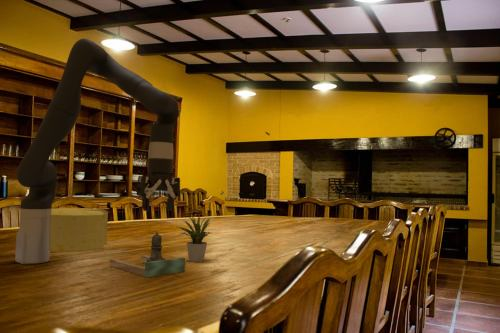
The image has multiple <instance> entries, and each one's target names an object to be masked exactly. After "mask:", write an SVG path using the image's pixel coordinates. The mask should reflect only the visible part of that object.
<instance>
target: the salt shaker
mask: <svg viewBox="0 0 500 333" xmlns="http://www.w3.org/2000/svg"><path fill="white" fill-rule="evenodd" d="M162 249H163V246H162V236H161V235H160V234H159V232H158V231H156V232H155V234H154V235H153V236H152V237H151V245H150V255H149V256H150V257H149V258H148V259H146V261H147V262H151V261H159V260H166V258H165V257H163V256H162Z"/></svg>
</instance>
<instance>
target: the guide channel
mask: <svg viewBox="0 0 500 333" xmlns="http://www.w3.org/2000/svg"><path fill="white" fill-rule="evenodd" d="M150 256H151V255H145V254H144V255H141V257H140V258H141V260H140V262H141V263H144V266H141V265H138V264H134V263H131V262H127V261H123V260H120V259H115V258H110V259H109V267H112V268H116V269H119V270H123V271H126V272H129V273H131V274H135V275H139V276H141V277H142V276H143V277H146V278H151V277H159V276H164V275H171V274H177V273H183V272H185V271H186V270H185V269H186V258H185V257H176V258H175V257H174V258H167V259H166V258H165V259H166V260H159V261H151V262H147V261H146V259H148V258H149V257H150Z"/></svg>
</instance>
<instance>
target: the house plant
mask: <svg viewBox="0 0 500 333" xmlns="http://www.w3.org/2000/svg"><path fill="white" fill-rule="evenodd" d="M188 218H189V219H190V221H191V223H192V224H190V223H189V222H188V221H187V220H184V219H179V220H181V222H183V223H185V224H186V225H187V226H188V227H189V229H188V228H187V227H182V226H176V228H177V229H180V230H178V231H179V232H181V231H183V232H181V233H179V236H181V235H186V236H188V237H189V238H190V240H191V241H187V242H186V248H187V255H188V256H187V258H188V262H192V263H202V262H204V261H205V256H206V251H207V246H208V242H206V241H203V240H204V239H205V237H207V236H208V235H210V234H211V232H210V231H206V230H207V228H208V227H209V226H210V224H211V222H210V221H211V219H212V217H204V218H203V220H202V221H201V216H200V214H198V219H197V220H196V219H195V218H194V217H192V216H188ZM200 221H201V223H200ZM192 225H193V227H192Z"/></svg>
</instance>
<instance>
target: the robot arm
mask: <svg viewBox="0 0 500 333" xmlns="http://www.w3.org/2000/svg"><path fill="white" fill-rule="evenodd" d="M65 63H66V64H65V66H64V70H63V72H62V75H61V78H60V81H59V83H58V86H57V87H56V90H55V92H54V94H53V96H52V99H51V101H50V102H49V105H48V108H47V110H46V112H45V114H44V117H43V119H42V122H41V124H40V126H39V128H38V130H37V132H36V134H35V136H34V139H33V140H32V143H31V144H30V146H29V148H28V149H27V151H26V152H25V154H24V156H23V157H22V160H21V161H20V162H19V165H18V167H17V171H16V179H17V181H18V183H19V184H20V185H21V186H23V187H24V188H29V190H28V194H27V195H26V196H25V197H23V198H22V199H21V201H20V209H19V224H18V225H19V226H18V228H19V229H18V231H16V238H15V254H14V255H15V256H14V259H15V260H14V261H15V262H16V263H18V264H22V265H26V264H27V265H28V264H40V263H41V264H42V263H47V262H49V261H50V254H51V253H50V252H51V251H50V233H51V213H52V209H53V203H54V201H55V199H56V192H57V191H56V190H57V181H58V180H57V179H58V174H57V173H58V172H57V169H56V166H55V164H54V163H53V162H51V161H49V160H50V159H51V158H50V157H51V156H52V154H53V152H54V150H55V149H56V148H57V146H58V145H60V143H61V142H63V141H64V139H66V137H67V136H68V135H69V134H70V133H71V131H72V130H73V129H74V127H75V125H76V123H77V120H78V118H79V117H80V113H81V109H82V96H81V93H82V84H83V80H84V78H85V76H86V74H87V72H89V73H92V74H96V75H98V76H100V77H103V78H104V79H107V80H108V81H111V83H113V84H115V86H117V87H118V88H119V89H120V90H121V91H122V92H124V93H125V94H126V95H128V97H129V96H130V97H131V98H132V99H134V100H135V101H137V102H139V103H140V104H141V105H142V106H143V107H145V109H146V110H148V111H150V112H151V113H153V114H155V115H156V116H157V119H156V123H154V124H152V125H151V127H150V133H149V146H148V153H147V154H148V155H147V157H148V158H147V176H146V175H138V177H137V184H136V193H135V194H136V196H139V197H141V198H142V200H141V208H142V211H144V212H150V204H151V203H150V200H151V199H150V197H151V196H152V194H153V193H154V192H156V191H157V192H159V191H160V192H161V191H162V192H164V193H165V194H166V197H167V198H166V210H167V211H169V212H171V211H173V210H174V208H175V198H177V197H180V196H181V178H180V177H176V176H175V177H172V174H173V169H174V167H173V166H174V131H175V126H176V124H177V120H178V116H179V115H178V114H179V103H178V101H177V99H176V97H174V96H172V95H170V94H168V93H166V92H164V91H163V90H161V89H158V87H156V86H154V85H153V83H151V82H149V81H148V80H147V79H146V78H144V77H142V76H141V75H139V74H137V73H136V72H134V71H132V70H130V69H128V68H127V67H125V66H123V65H121V64H120V63H119V62H118V61H116V59H114V58H113V56H112V55H110V53H108V51H107V50H105V49H104V48H103V47H102V46H101V45H99V44H98V43H96V42H94V40H91V39H89V38H87V37H86V38H85V37H84V38H80V39H78V40H77V41H76V42H74V43H73V45H72V47H71V49H70V52H69V53H68V57H67V60H66V62H65ZM146 184H147V186H146ZM171 184H172V185H171Z"/></svg>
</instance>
